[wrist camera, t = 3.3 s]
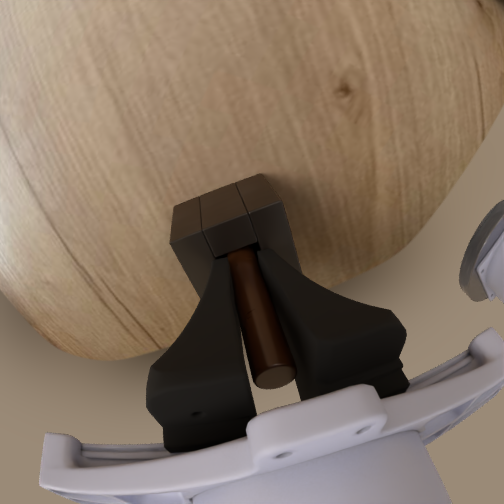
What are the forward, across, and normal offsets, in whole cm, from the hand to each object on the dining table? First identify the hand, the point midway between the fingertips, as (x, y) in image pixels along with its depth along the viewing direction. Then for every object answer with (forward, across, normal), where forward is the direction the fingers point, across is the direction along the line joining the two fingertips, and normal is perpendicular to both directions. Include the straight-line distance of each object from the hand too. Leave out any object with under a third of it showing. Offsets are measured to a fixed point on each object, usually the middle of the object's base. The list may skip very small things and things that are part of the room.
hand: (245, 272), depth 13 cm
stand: (+4, 0, 0) cm, 4 cm away
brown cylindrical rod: (+4, 0, 0) cm, 4 cm away
